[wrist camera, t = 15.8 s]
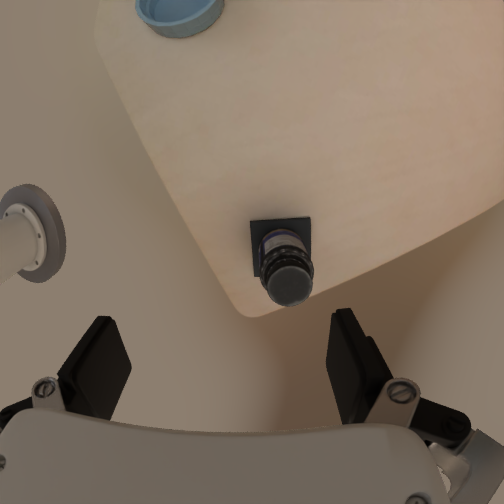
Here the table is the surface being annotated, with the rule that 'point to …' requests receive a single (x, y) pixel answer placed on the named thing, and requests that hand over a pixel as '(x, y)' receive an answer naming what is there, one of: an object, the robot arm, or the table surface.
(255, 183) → the table surface
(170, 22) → the bowl
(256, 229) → the mat
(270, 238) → the pill bottle
